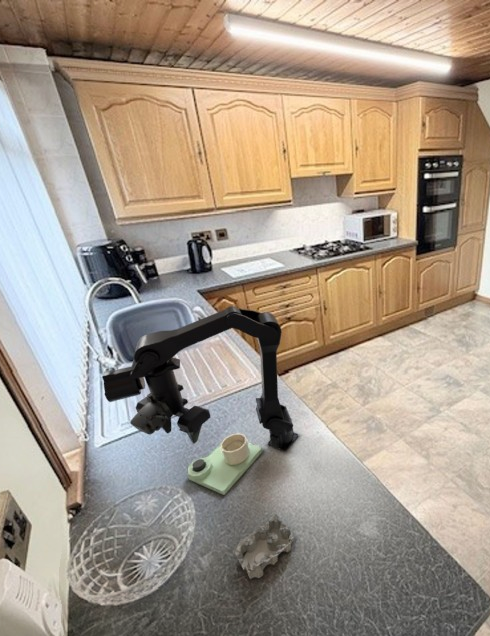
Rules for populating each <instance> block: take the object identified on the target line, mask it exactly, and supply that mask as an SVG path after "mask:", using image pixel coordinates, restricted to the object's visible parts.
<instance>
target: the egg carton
mask: <svg viewBox="0 0 490 636" xmlns="http://www.w3.org/2000/svg"><path fill="white" fill-rule="evenodd" d="M294 538H295V535H294V534H293V533H292V531H291V530H290V528H289V527H288V526H287V525H286V524H285V522H284V521H283V519H281V518H280V516H279V515H278V514H277V513H276V514H274V515H273V516H271V518H270V519H268V521H267V522H264V523H263V524H262V525H259V526H258V528H256V529H255V530H253V531H252V532H251V533H250V534H249V535H248V536H246V537H244V538H242V539H241V540H240V541H239V542H238V543H237V546H236V548H235V550H234V554H235V555H236V556H237V557H236V558H237V559H238V562H239V564H240V566H241V568H242V570H246V573H247V576H248V578H249V579H250V580H252V579H253V578H256V579H260V578H262V577H263V576H264V569H265V568H266V566H268V565H273V566H275V564H276V563H277V562H278V561H279V559H278V557H279V555H280V554H281V553H283V552H286V553H289V552H290V551H291V550H292V543H293V539H294Z"/></svg>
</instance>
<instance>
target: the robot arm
mask: <svg viewBox="0 0 490 636" xmlns="http://www.w3.org/2000/svg"><path fill="white" fill-rule="evenodd" d="M231 329H234V330H238V331H240V332H242V333H243V334H246V335H248V336H250V337H252V338H255V339H256V341H257V343H258V347H259V357H260V375H261V395H260V397H255V402H256V407H255V411H256V415H257V419H258V422H259V424H260V425H262V428H263V429H265V430H268V431H269V441H268V442H267V445H268V446H270V447H272V448H274V449H278V450H282V451H284V452H287V451H288V450H289V448H290V447H291V446H292V445H293V444H294V442H295V441H296V440H297V439H298V438H299V434H298V433H296V432H294V423H293V421H292V418H291V415H290V414H289V411H288V408H287V406H286V405H283V404H281V402H280V399H279V389H278V388H279V387H278V385H279V383H278V354H277V353H278V349H279V347H280V345H281V340H282V339H281V338H282V332H283V331H282V328H281V325H280V324H279V321H278V320H277V318H276V316H275V315H274V314H273V313H272V312H268V311H267V312H266V311H263V312H260V311H256V310H253V309H247V308H240V307H239V306H238V307H237V306H233V305H231V306H228V307H226V308H224V309H223V310H220V311H218V312H215V313H213V314H210V315H207V316H205V317H203V318H201V319H198V320H196V321H193V322H190V323H189V324H186V325H184V326H181V327H178V328H175V329H172V330H159V331H156V332H151V333H147V334H144V335H143V336H141V337H139V339H138V341H137V344H136V347H135V350H134V354H133V360H132V364H131V366H128V367H123V368H117V369H112V370H106V371H104V372H103V374H102V376H101V377H102V380H103V390H104V396H105V399H106V401H107V402H109V403H112V402H117V401H121V400H125V399H128V398H129V399H130V398H133V397H137V396H140V395H141V394H142V390H145V389H146V385H147V387H148V390H149V393H148V394H146V396H145V397H143V399H141V400H139V401H138V402H137V403H136V405H135V410H136V412H137V413H136V414H135V415H134V416H133V417H132V419H131V420H130V422H129V423H130V425H131V426H132V427H134V428H135V429H137V430H138V431H139V432H141V433H144V434H146V435H153V434H154V433H155V432H158V431H160V430H161V429H162V430H163V431H164V432H165V433H166V434H170V433H171V432H172V417H173V416H175V417H178V419H177V422H176V425H177V427H178V428H179V429H178V431H180V432H183V433H185V434H186V435H187V436H188V438H189V440H190V441H191V444H194V445H195V444H196V443H197V442H198V440H199V437H200V433H201V430H202V426H203V425H204V424H205V423H206V422H207V421H208V420H209V419H211V412H210V409H209V408H206V407H203V406H199V405H193V406H192V407H191V408H187V407H185V406H186V405H187V404H189V400H188V398H184V397H183V396H182V391H183V390H184V385H183V384H179V383H178V381H177V378H176V374H175V370H179V369H180V368H181V359H180V358H177V357H175V356H177V355H178V353H180V352H181V351H182V350H184V349H186V348H188V347H191V346H193V345H196V344H198V343H201V342H203V341H205V340H207V339H211V338H212V337H216V336H217V335H220V334H222V333H224V332H226V331H229V330H231Z"/></svg>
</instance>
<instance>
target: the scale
mask: <svg viewBox="0 0 490 636" xmlns="http://www.w3.org/2000/svg"><path fill="white" fill-rule="evenodd" d="M248 446H249V451H250V453H249V456H248V457H247V458H246V459H245V460H244V461H243V462H241V463H239V464H236V465H230V464H227V463H226V462H225V461H224V458H223V454H222V451H221V443H220V444H219V445H218V446H217V447H216V448H215V449H214V450H213V451H212V452H211V453H210V454H209V455H208V456H207V457H199V458H198V459H203V460H204V462H205V468H204V469H203V470H202V471H200V472H195V471H194V469H193V463H194V462H195V461H196V460H198V459H195V460H193V461H192V462H191V463H190V464H189V465H188V467H187V474H188V475H187V478H188V480H190V481H191V482H193V483H196V484H198V485H200V486H203V487H205V488H206V489H209V490H212V491H213V492H215V493H218V494H220V495H223V496H225V495H226V494H227V493H228V491H230V489H231V488H232V487H233V486H234V485H235V484H236V482H237V481H238V480H239V479H240V478H241V477H242V476H243V475H244V473H245V472H246V471H247V470H248V469H249V468H250V466H251V465H253V463H254V462H255V461H256V460H257V459H258V458H259V457H260V456H261V454H262V453H263V452H264V449H263V447H261V446H259V445H256V444H253V443H250V442H248Z"/></svg>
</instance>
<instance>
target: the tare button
mask: <svg viewBox="0 0 490 636" xmlns="http://www.w3.org/2000/svg"><path fill="white" fill-rule="evenodd" d="M195 460H196V461H195ZM195 460H194V461H195V462H194V463H193V469H194V471H195V472H200V471H202V470H203V469H204V468H205V462H204V460H203V459H199V458H198V460H197V459H195Z"/></svg>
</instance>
